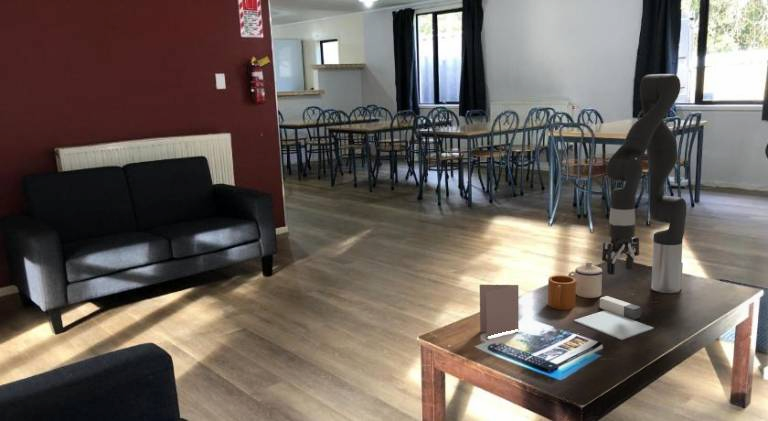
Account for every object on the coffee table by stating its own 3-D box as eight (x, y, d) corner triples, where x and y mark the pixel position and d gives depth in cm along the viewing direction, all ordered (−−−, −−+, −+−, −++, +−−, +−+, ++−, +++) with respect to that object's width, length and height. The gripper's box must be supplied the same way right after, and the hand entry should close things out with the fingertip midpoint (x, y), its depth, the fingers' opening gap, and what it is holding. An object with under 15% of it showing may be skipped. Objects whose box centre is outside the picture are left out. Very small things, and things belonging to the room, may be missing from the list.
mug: (539, 309, 209) (539, 283, 207) (554, 298, 218) (554, 273, 217) (565, 314, 204) (565, 287, 202) (579, 303, 213) (580, 277, 211)
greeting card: (518, 331, 192) (518, 284, 189) (519, 341, 185) (519, 292, 182) (480, 330, 194) (479, 283, 191) (479, 340, 187) (479, 291, 184)
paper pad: (605, 311, 205) (605, 310, 205) (653, 328, 190) (653, 327, 189) (574, 321, 198) (574, 319, 198) (621, 339, 183) (621, 338, 183)
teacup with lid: (606, 293, 222) (607, 260, 219) (595, 300, 215) (596, 267, 213) (573, 286, 230) (574, 255, 227) (562, 293, 223) (562, 262, 221)
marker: (597, 306, 209) (597, 297, 209) (604, 304, 211) (604, 295, 210) (633, 319, 197) (633, 309, 196) (640, 317, 199) (640, 307, 198)
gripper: (627, 217, 204) (625, 265, 208) (596, 223, 197) (595, 273, 201) (647, 220, 198) (645, 270, 201) (616, 227, 191) (614, 278, 194)
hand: (620, 271), depth 201 cm, fingers open, 8 cm apart
